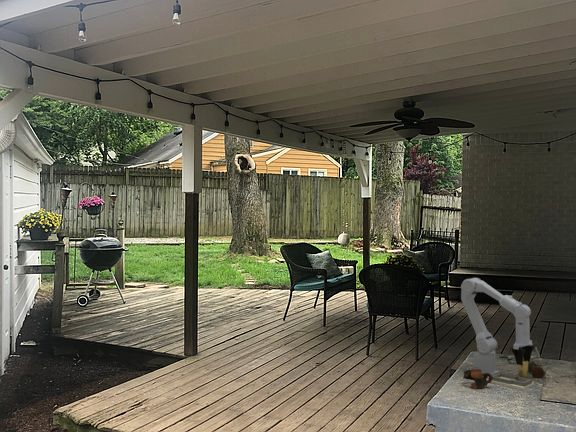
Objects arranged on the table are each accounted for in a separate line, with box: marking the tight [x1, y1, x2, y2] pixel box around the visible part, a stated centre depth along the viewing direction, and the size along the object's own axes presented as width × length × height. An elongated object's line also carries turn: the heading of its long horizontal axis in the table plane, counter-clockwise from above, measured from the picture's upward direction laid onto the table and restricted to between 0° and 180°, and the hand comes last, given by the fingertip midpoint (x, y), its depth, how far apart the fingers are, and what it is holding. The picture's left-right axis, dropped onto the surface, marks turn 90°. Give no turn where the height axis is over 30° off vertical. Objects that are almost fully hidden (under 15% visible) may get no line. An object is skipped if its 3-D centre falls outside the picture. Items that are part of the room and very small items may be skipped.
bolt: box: [528, 362, 546, 379], centre depth 248 cm, size 6×5×15 cm
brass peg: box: [517, 359, 529, 379], centre depth 240 cm, size 4×4×8 cm
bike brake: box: [499, 346, 543, 365], centre depth 270 cm, size 14×7×20 cm
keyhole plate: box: [490, 372, 535, 391], centre depth 233 cm, size 15×11×2 cm
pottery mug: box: [462, 369, 493, 390], centre depth 229 cm, size 12×10×8 cm
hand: (523, 363), depth 240 cm, fingers open, 7 cm apart
